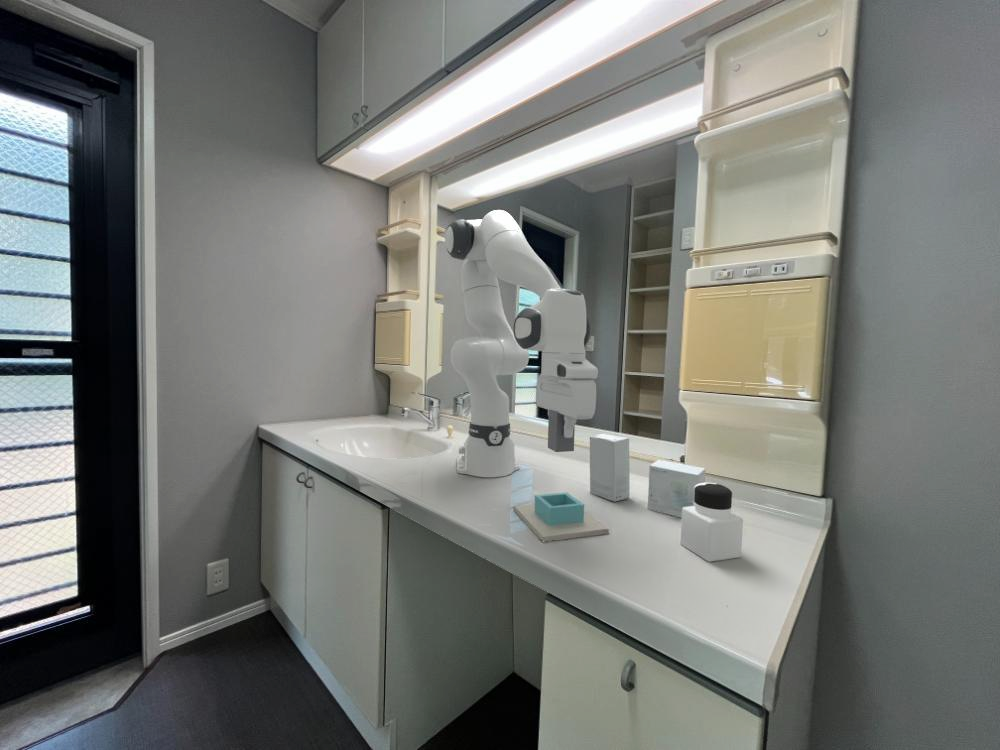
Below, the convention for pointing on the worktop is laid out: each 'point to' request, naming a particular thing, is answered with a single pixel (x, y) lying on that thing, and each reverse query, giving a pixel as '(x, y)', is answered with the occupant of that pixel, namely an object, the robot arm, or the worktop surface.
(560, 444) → the block
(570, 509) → the plate
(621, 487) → the skincare box
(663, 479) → the skincare box
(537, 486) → the worktop surface
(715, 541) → the medicine bottle
